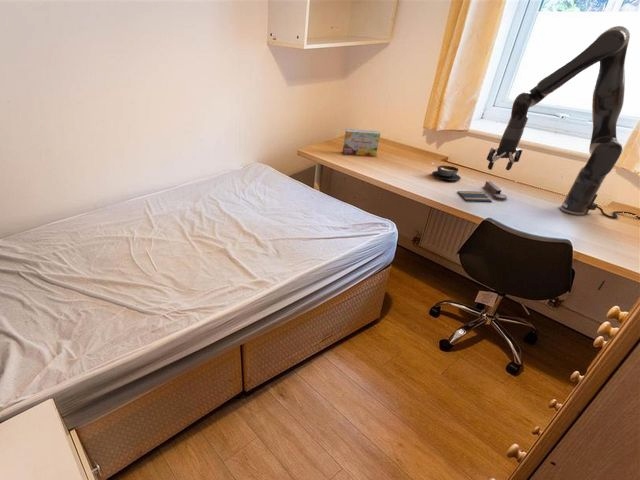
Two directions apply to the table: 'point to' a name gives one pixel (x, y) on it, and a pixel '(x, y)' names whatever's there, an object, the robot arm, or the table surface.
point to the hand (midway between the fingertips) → (498, 169)
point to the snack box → (361, 142)
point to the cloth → (474, 196)
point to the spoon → (495, 191)
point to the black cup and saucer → (446, 173)
